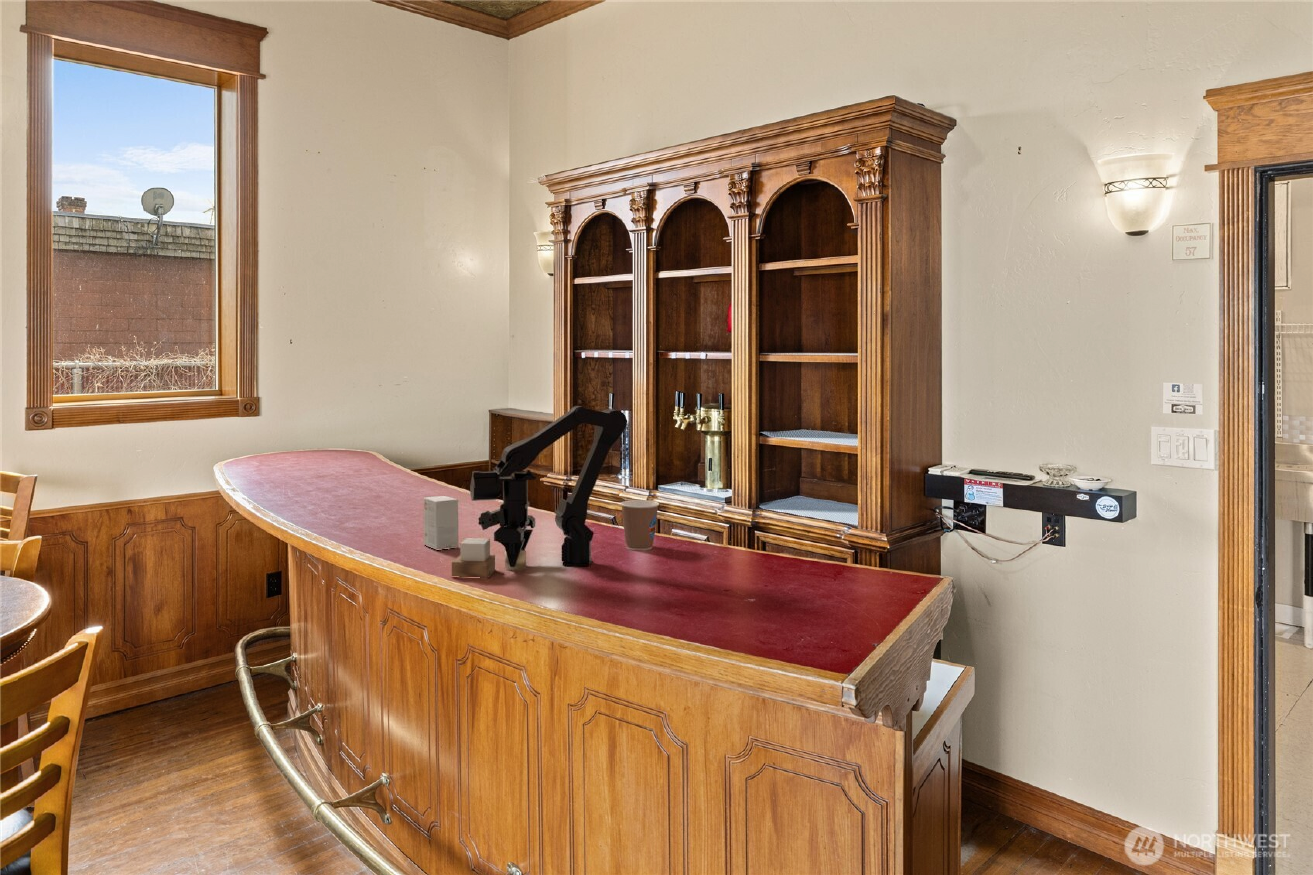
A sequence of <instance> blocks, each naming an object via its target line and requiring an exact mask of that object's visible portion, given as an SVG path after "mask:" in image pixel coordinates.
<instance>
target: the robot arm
mask: <svg viewBox="0 0 1313 875" xmlns="http://www.w3.org/2000/svg"><path fill="white" fill-rule="evenodd" d="M582 424H586V425H591V426H594V434H593V436H594V437H593V442H592V444H591V446H590V449H589V451H588V453H587V456H586V459H585V461H584V464H583V466H582V468H581V470H580V473H579V475H578V478H577V480H576V482H575V485H574V487H573V490H572V492H571V494H570V495H569V496H568V497H567V498H566V500H565V499H564V498H562V497H560V500H559V502H558V505H557V508H556V510H555V511H553V513H554V514H555V517H554V521H555V524H556V526H557V527H558V529H560V530H561V531H562V534H563V535H564V536H565V537H564V538H563V543H562V544H561V562H562V566H571V567H572V566H574V567H575V566H576V567H577V566H578V567H579V566H580V567H588V566H590V565H591V564H592V561H593V558H592V540H593V537H594V534H595V532H594V531H593V530H592V529H591V528H590V527H589V526H587V525H586V521H587V520H586V519H587V516H588V507H589V506H588V505H589V500H590V497H591V495H592V493H593V490H594V488H595V486H596V483H597V481H598V478H599V477H600V474H601V471H602V469H603V467H604V465H605V462H606V459H607V457H608V455H609V453H610V450H611V448H612V447H613V446H614V445H615V444H616V443H617V441H618V440H619V439H620V437H622V435H623V433H624V431H625V430H626V429H627V426H628V419H627V416H626V415H625V414H624V412H622V411H620V410H618V409H612V408H606V409H604V410H601V411H599V410H596V409H595V410H594V409H589V408H587V407H583V406H582V405H581V406H580V405H575V406H573V407H572V408H570V410H568V411H567V412H566V413H564V414H562V415H561V416H560V417H559V418H556V419H555V420H554V421H552V422H551V423H550V424H548V425H546V426H545V427H544V428H542V429H541V430H539V431H538V432H536V433H535V434H533V435H532V436H529V437H526V438H525V439H521V440H519V441H516V442H514V443H512V444H510V445H508V446H506V447H505V448H504V449H503V450H502V452H501V459H500V460H499V462H498V463H497V465H496V466H495V467H494V468H493V470H492V471H480V470H475V471H474V470H473V471H472V473H471V478H470V479H471V480H470V485H469V488H470V490H469V491H470V492H469V493H470V497H471V499H470V500H471V501H472V502H473V501H496V500H498V497H499V498H500V496H502V494H503V496H502V499H503V500H502V501H503V502H502V503H501V504H500V506H499V509H495V510H492V511H489V510H487V511H484V512H481V513H480V516H478V523H477V524H478V525H479V526H481V529H482V530H483V531H485V530H488V529H489V528H491V527H493V526H495V527H496V526H497V525H499V528H497V529H496V530H495V531H494V532H493V541H494V542H498V543H499V544H501V545H502V546H503V548H504V550H505V551H506V553H507V557H508V561H509V564H510V567H515V565H516V563H517V560H518V557H519V554H520V551H521V550H525V551H526V548H527V545H528V544H529V541H530V538H531V536H532V534H533V532H534V528H535V527H536V518H535V517H534V516H533V515H532V514H530V515H529V514H528V512H529V511H528V507H529V506H530V501H529V499H528V498H529V495H528V493H529V492H528V491H529V490H528V489H529V484H528V482H529V481H535V480H537V476H535V475H534V474H533V473H532V471H531V470H530V469H529V466H530V465H531V464H532V463H533V462H534V461H536V459H537V458H538V457H539V455H540V454H541V453H542V452H543V451H544V450H545V449H546V448H548V447H550V446H551V445H552V444H554V443H555V442H557V441H558V440H560V439H561V438H563V437H564V436H565V435H567V434H569V433H570V432H572V431H573V430H574V429H576V428H577V427H578V426H580V425H582ZM524 470H525V471H524ZM522 471H523V472H522ZM528 527H530V528H529V529H528Z"/></svg>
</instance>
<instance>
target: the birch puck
mask: <svg viewBox="0 0 1313 875" xmlns="http://www.w3.org/2000/svg"><path fill="white" fill-rule="evenodd" d="M505 568H506V569H508V570H507V571H511V570H513V572H514V571H517V572H519V571H524V570H526V569H527V550H526V549H525V550H521V551H520V554H519V557H518V560H517V563H516V565H515V567H510V564H509V561H508V557H507V553H506V550H505V551H504V569H505ZM506 569H505V570H506Z"/></svg>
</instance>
